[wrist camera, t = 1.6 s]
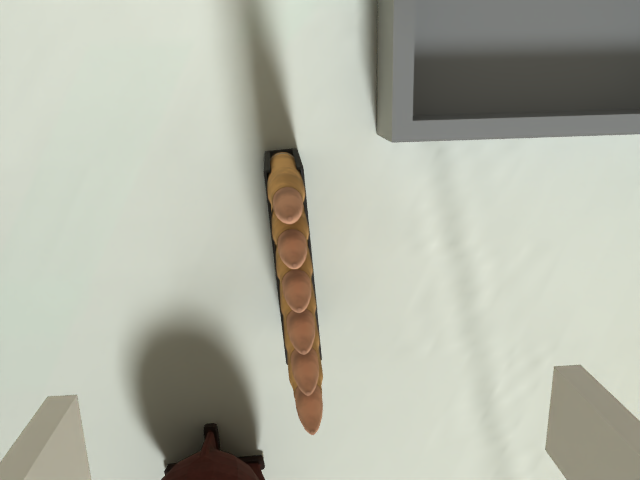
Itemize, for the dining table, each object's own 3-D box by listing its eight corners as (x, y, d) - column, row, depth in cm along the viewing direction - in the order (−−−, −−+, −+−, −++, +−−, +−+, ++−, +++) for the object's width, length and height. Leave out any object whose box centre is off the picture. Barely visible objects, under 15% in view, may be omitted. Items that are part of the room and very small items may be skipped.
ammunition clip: (264, 151, 31) (260, 195, 19) (297, 147, 31) (313, 189, 19) (284, 327, 34) (291, 456, 22) (315, 323, 34) (337, 450, 22)
